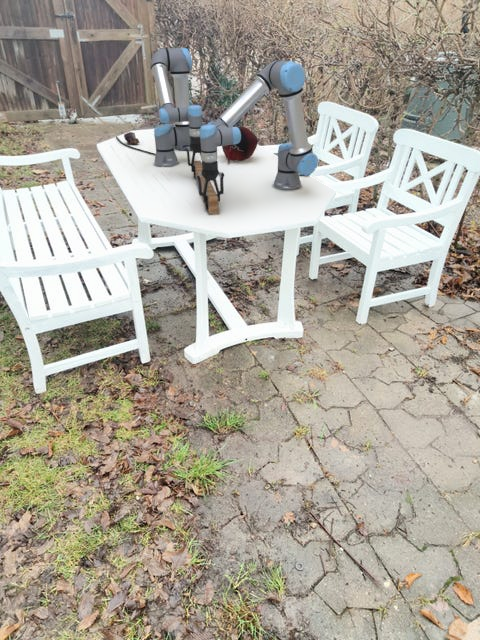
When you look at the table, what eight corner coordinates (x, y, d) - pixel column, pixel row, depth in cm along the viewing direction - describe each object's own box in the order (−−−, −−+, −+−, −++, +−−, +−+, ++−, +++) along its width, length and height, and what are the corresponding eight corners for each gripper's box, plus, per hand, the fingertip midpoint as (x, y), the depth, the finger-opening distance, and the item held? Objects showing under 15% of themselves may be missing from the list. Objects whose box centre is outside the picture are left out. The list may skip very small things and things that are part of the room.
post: (194, 175, 273) (193, 160, 268) (201, 174, 273) (200, 160, 269) (209, 214, 220) (208, 197, 215) (218, 213, 221) (217, 196, 216)
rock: (136, 143, 345) (123, 144, 341) (134, 131, 342) (121, 132, 338) (140, 143, 336) (127, 145, 332) (139, 131, 332) (125, 132, 328)
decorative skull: (218, 132, 305) (218, 129, 282) (252, 124, 304) (255, 121, 281) (225, 164, 312) (225, 164, 288) (258, 157, 311) (261, 156, 288)
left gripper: (181, 138, 250) (184, 179, 263) (212, 136, 253) (214, 177, 266) (180, 135, 256) (183, 176, 269) (210, 133, 259) (212, 174, 272)
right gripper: (192, 164, 208) (195, 212, 221) (229, 161, 210) (230, 209, 224) (190, 159, 214) (193, 207, 227) (226, 157, 216) (228, 204, 230)
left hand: (198, 176), depth 268 cm, fingers closed on post, 4 cm apart
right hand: (212, 208), depth 225 cm, fingers closed on post, 4 cm apart
